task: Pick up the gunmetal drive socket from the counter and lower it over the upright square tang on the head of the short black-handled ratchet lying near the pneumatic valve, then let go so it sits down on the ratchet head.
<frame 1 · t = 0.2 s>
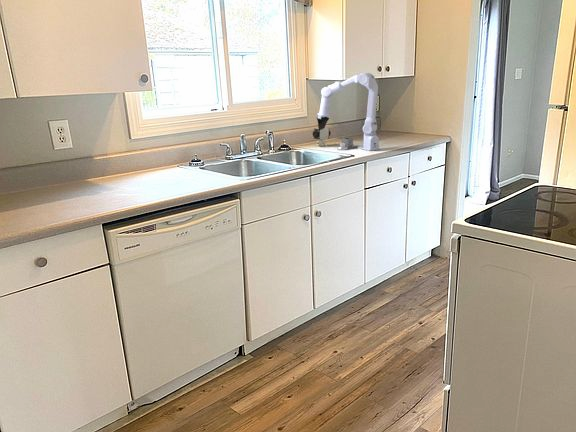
hand: (321, 129, 290), 11 cm above the countertop, tool pointing down, fingers closed on pneumatic valve, 3 cm apart
pneumatic valve: (320, 146, 296), on the countertop, touching gripper
ratchet: (342, 149, 281), on the countertop
socket: (347, 146, 291), on the countertop
when the fingers open (11 cm above the countertop, at t = 0.2 s): pneumatic valve moves 4 cm, point 2 cm above the countertop.
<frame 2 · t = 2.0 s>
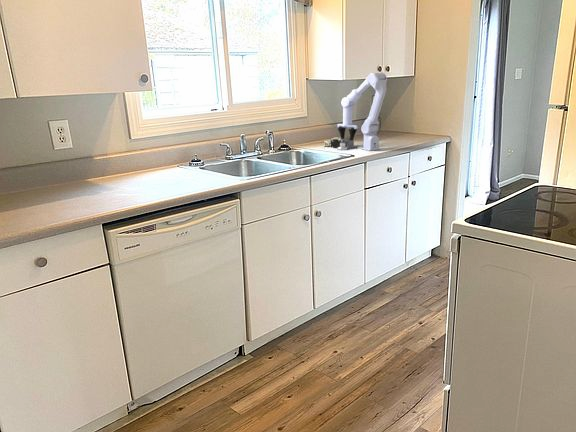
hand: (347, 139, 290), 4 cm above the countertop, tool pointing down, fingers open, 7 cm apart
pneumatic valve: (323, 142, 293), point 2 cm above the countertop, touching gripper
everything else where it was.
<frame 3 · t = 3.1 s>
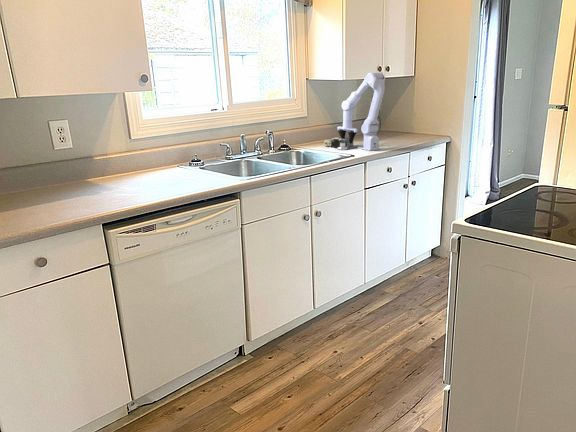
hand: (346, 142, 291), 2 cm above the countertop, tool pointing down, fingers open, 6 cm apart
pneumatic valve: (324, 142, 293), point 3 cm above the countertop, touching gripper, socket
socket: (347, 146, 291), on the countertop, touching gripper, pneumatic valve
everything else where it was.
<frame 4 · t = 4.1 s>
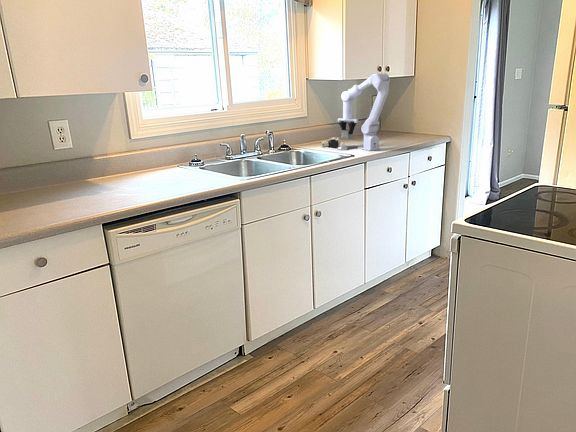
hand: (347, 133, 289), 8 cm above the countertop, tool pointing down, fingers closed on socket, 5 cm apart
pneumatic valve: (321, 143, 293), point 2 cm above the countertop
socket: (346, 138, 289), point 5 cm above the countertop, touching gripper
everything else where it was.
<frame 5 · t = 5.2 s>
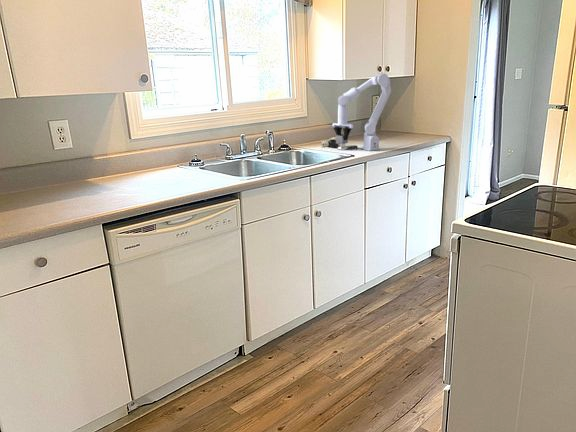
hand: (342, 139, 279), 6 cm above the countertop, tool pointing down, fingers closed on socket, 5 cm apart
ratchet: (342, 149, 281), on the countertop, touching socket
socket: (341, 143, 280), point 4 cm above the countertop, touching gripper, ratchet
everything else where it was.
when the fingers open (4 cm above the countertop, at t = 6.7 s): socket drops 1 cm, resting on ratchet.
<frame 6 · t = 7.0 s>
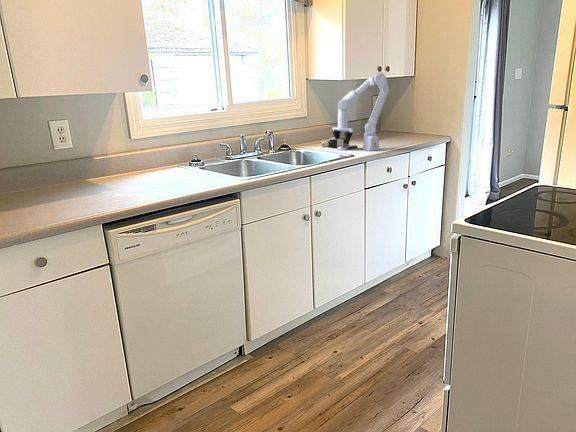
hand: (342, 143, 280), 4 cm above the countertop, tool pointing down, fingers open, 7 cm apart
socket: (342, 146, 281), point 2 cm above the countertop, touching ratchet
everything else where it was.
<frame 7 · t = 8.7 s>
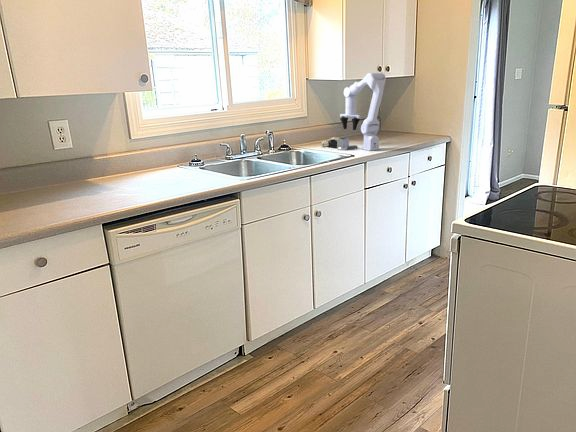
hand: (349, 129, 293), 10 cm above the countertop, tool pointing down, fingers open, 7 cm apart
nothing on the countertop moved.
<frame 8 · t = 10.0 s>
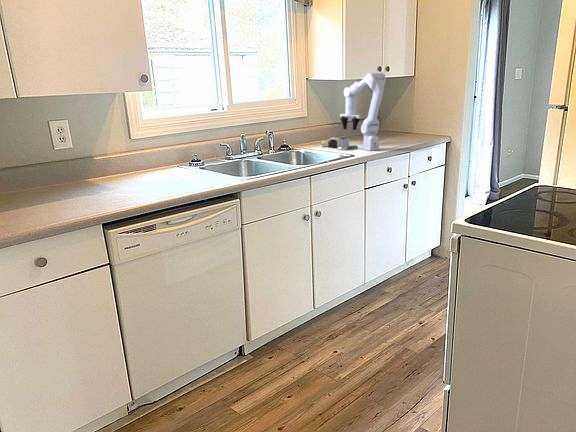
hand: (349, 129, 293), 10 cm above the countertop, tool pointing down, fingers open, 7 cm apart
nothing on the countertop moved.
at the end: socket 0.3 cm off-centre on the ratchet, point 1.6 cm above the ratchet's base; socket tilted 0°; the gripper is holding nothing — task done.
